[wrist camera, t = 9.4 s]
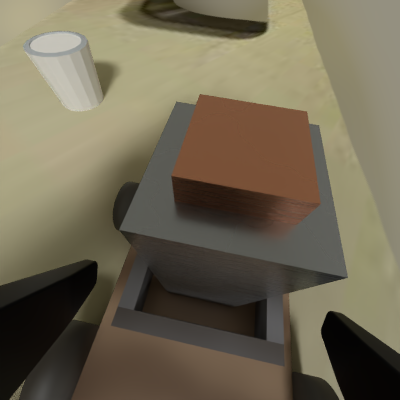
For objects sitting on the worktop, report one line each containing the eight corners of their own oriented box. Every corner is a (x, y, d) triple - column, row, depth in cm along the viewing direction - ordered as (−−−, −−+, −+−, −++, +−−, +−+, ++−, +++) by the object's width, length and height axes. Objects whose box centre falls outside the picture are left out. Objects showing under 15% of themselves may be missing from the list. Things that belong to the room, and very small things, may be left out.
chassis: (310, 474, 11) (370, 550, 8) (52, 405, 12) (-7, 444, 9) (294, 226, 20) (319, 204, 16) (140, 196, 21) (130, 168, 17)
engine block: (233, 307, 14) (389, 266, 3) (167, 292, 15) (102, 208, 4) (240, 242, 17) (338, 96, 6) (183, 230, 17) (174, 71, 6)
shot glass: (57, 117, 26) (19, 58, 20) (57, 89, 30) (24, 32, 24) (110, 109, 28) (89, 52, 22) (105, 83, 31) (85, 27, 25)
